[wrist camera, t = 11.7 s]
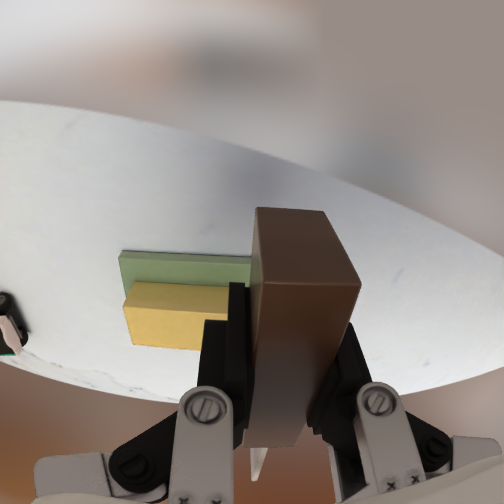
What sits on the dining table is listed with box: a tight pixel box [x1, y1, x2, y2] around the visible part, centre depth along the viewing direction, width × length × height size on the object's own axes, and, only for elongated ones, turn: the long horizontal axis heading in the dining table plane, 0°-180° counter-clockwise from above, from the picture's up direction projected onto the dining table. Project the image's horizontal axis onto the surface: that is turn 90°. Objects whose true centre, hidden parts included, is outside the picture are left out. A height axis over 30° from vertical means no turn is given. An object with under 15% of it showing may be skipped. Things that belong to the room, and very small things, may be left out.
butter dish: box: [118, 251, 251, 351], centre depth 23 cm, size 8×16×4 cm, turn 86°
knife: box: [242, 207, 362, 481], centre depth 11 cm, size 15×2×4 cm, turn 176°
